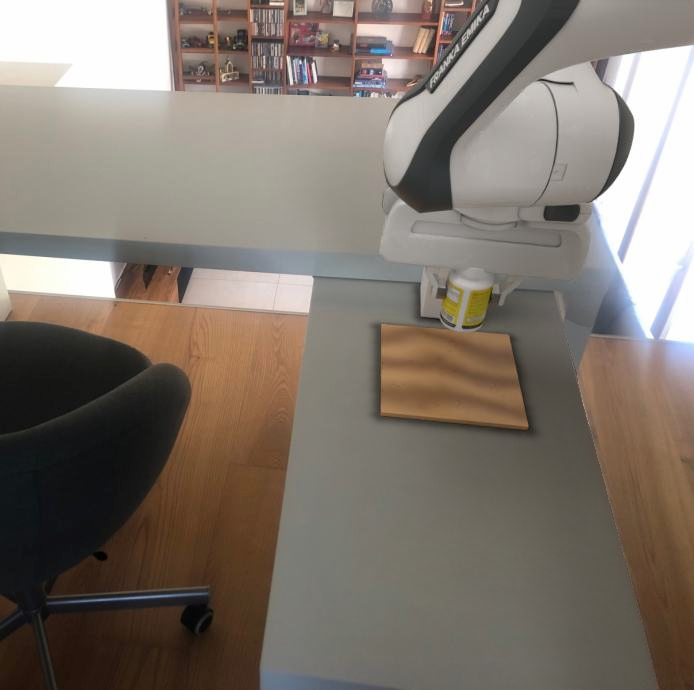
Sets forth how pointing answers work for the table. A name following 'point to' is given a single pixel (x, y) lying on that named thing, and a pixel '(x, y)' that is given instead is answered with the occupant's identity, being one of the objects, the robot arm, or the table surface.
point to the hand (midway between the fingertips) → (466, 299)
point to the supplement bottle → (466, 299)
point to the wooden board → (450, 377)
